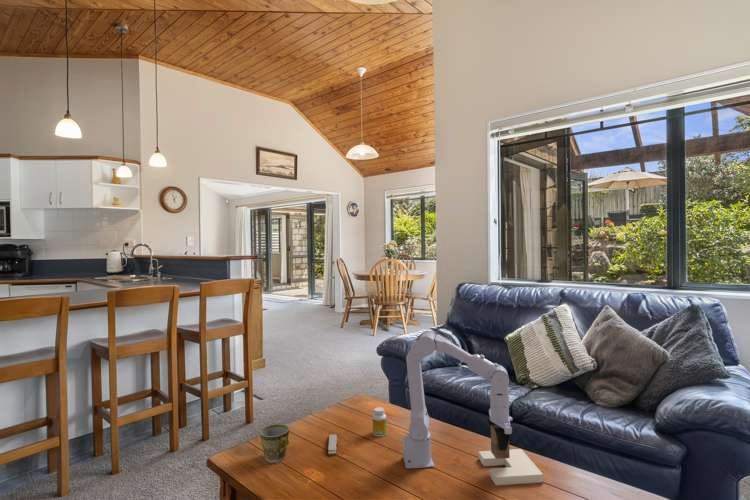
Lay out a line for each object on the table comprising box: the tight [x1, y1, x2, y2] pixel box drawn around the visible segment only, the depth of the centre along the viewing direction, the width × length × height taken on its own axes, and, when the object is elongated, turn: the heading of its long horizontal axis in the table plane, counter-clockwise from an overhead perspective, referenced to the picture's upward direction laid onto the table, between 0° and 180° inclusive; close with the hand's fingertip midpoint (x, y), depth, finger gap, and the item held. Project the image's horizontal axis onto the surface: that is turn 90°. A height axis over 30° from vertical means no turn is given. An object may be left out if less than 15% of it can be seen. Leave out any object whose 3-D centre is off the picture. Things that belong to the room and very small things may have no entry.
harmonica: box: [326, 434, 338, 457], centre depth 152 cm, size 15×3×2 cm, turn 4°
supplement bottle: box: [372, 406, 388, 438], centre depth 160 cm, size 5×5×10 cm
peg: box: [490, 425, 510, 459], centre depth 133 cm, size 4×4×9 cm
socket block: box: [478, 448, 544, 486], centre depth 133 cm, size 15×16×2 cm
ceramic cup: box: [259, 423, 290, 464], centre depth 142 cm, size 13×10×10 cm
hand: (500, 446), depth 133 cm, fingers closed on peg, 4 cm apart
